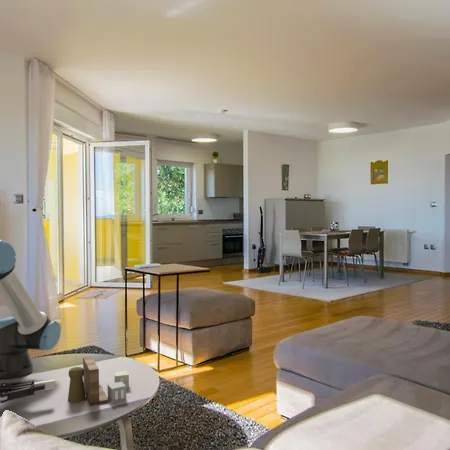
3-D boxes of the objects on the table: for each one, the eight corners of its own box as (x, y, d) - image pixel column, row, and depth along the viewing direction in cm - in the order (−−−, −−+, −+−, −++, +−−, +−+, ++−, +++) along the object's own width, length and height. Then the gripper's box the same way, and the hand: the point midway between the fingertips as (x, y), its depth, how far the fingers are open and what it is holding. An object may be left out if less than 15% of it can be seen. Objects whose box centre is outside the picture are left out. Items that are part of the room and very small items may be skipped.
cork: (80, 403, 152) (79, 371, 152) (64, 402, 153) (63, 370, 153) (89, 396, 158) (88, 365, 158) (73, 395, 159) (72, 364, 159)
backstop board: (83, 389, 164) (83, 357, 164) (100, 387, 167) (99, 355, 167) (90, 405, 150) (89, 370, 150) (108, 402, 152) (107, 367, 152)
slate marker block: (107, 384, 156) (121, 381, 159) (107, 398, 156) (121, 395, 159) (111, 389, 152) (126, 385, 154) (112, 403, 152) (126, 400, 154)
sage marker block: (127, 370, 170) (128, 383, 170) (114, 371, 169) (114, 385, 169) (128, 374, 165) (129, 388, 165) (114, 376, 164) (115, 389, 164)
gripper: (-23, 401, 148) (53, 388, 159) (-25, 416, 137) (57, 401, 147) (-23, 378, 148) (53, 367, 159) (-26, 391, 137) (56, 378, 147)
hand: (54, 383), depth 153 cm, fingers closed
